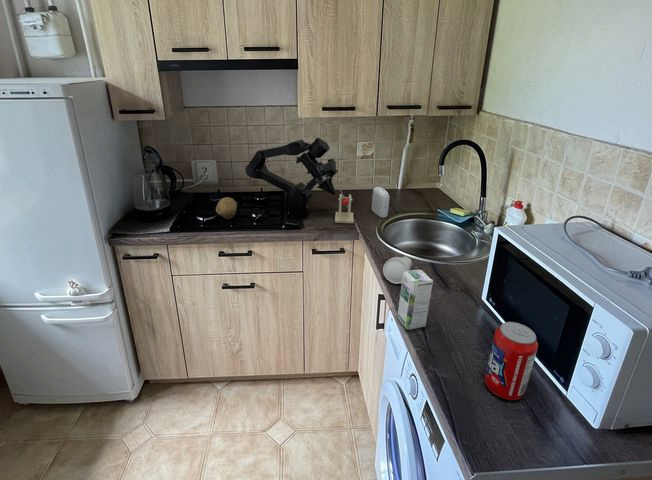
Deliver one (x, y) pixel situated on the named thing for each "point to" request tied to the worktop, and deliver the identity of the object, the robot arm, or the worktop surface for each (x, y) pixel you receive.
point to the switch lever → (345, 201)
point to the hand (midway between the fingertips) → (335, 194)
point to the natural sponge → (226, 207)
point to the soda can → (511, 360)
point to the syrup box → (414, 299)
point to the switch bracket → (344, 213)
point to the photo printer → (380, 202)
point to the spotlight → (396, 269)
